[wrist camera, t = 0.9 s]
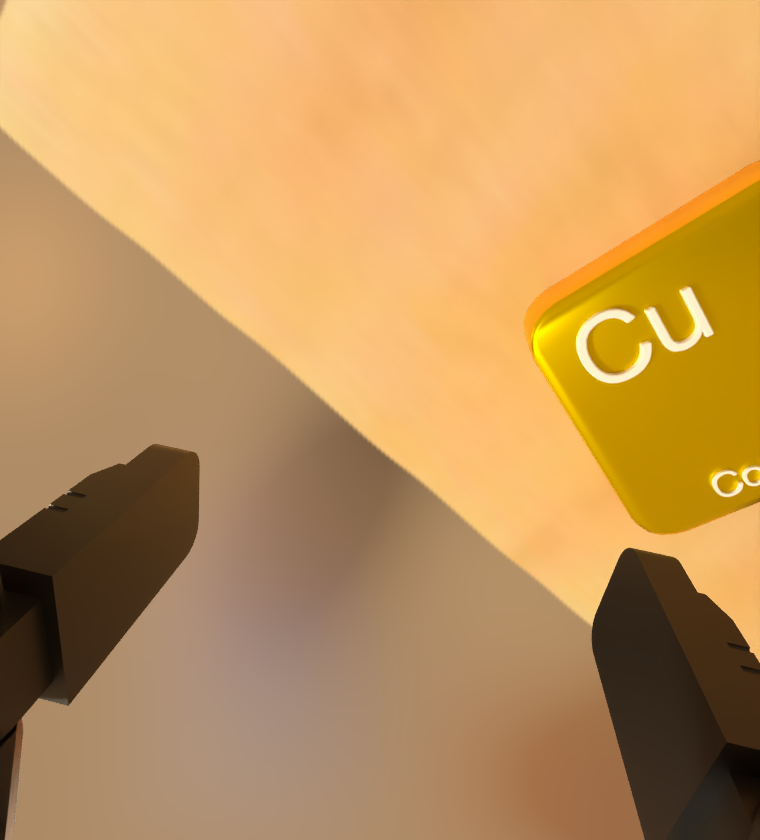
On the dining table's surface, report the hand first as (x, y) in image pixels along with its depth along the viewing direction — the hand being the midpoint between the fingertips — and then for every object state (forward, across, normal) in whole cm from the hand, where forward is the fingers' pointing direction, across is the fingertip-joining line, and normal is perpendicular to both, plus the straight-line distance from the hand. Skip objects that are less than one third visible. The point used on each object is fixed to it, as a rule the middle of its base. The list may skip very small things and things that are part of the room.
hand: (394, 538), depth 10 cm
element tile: (+23, -14, 0) cm, 27 cm away
